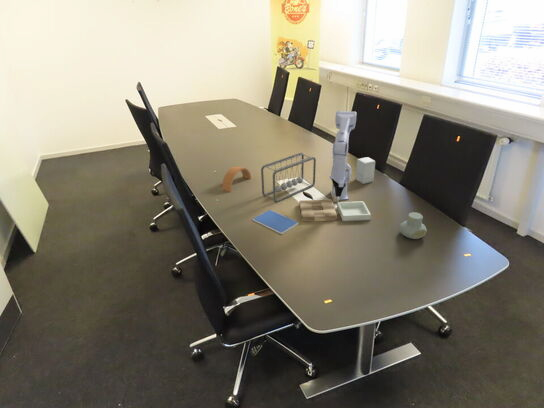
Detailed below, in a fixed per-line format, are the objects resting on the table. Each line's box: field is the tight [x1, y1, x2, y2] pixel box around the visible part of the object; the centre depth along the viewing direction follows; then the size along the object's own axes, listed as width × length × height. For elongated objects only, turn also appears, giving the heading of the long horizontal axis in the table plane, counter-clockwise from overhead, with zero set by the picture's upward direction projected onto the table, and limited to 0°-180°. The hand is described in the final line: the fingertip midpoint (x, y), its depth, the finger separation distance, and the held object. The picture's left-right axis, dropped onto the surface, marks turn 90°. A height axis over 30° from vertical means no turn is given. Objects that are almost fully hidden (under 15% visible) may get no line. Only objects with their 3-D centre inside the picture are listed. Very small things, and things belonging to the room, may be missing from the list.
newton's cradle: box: [260, 152, 317, 203], centre depth 191 cm, size 30×10×18 cm, turn 130°
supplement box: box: [355, 156, 376, 185], centre depth 201 cm, size 7×7×13 cm
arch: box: [221, 166, 252, 193], centre depth 203 cm, size 6×20×10 cm, turn 147°
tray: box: [336, 200, 372, 222], centre depth 172 cm, size 13×13×3 cm
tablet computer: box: [252, 209, 299, 235], centre depth 168 cm, size 19×13×1 cm, turn 47°
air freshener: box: [399, 211, 428, 240], centre depth 153 cm, size 11×8×10 cm
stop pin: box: [332, 182, 340, 203], centre depth 168 cm, size 4×4×9 cm
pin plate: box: [299, 198, 338, 222], centre depth 174 cm, size 16×16×2 cm
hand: (337, 194), depth 169 cm, fingers closed on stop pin, 4 cm apart
